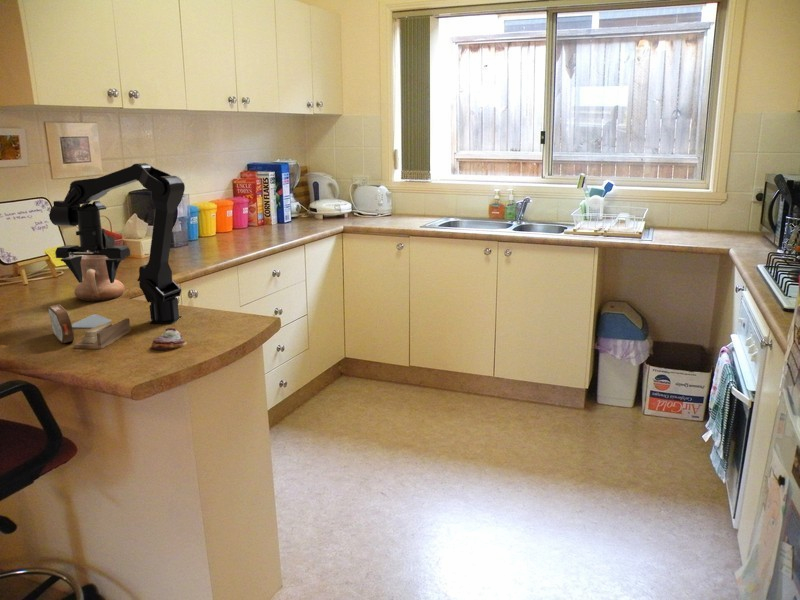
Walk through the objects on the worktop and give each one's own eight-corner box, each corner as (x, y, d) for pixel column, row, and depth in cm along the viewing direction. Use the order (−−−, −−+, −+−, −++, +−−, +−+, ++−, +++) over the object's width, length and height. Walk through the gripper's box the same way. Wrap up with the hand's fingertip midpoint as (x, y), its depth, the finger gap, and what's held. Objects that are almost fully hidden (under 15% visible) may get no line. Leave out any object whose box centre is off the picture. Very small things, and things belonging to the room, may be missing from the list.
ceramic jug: (85, 294, 216) (80, 251, 212) (131, 292, 218) (126, 250, 214) (66, 307, 198) (60, 261, 195) (116, 305, 200) (111, 259, 197)
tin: (76, 345, 161) (71, 311, 159) (62, 347, 160) (57, 314, 158) (63, 331, 173) (59, 300, 171) (50, 334, 171) (45, 302, 169)
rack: (130, 332, 171) (129, 318, 171) (101, 348, 158) (99, 333, 157) (105, 331, 172) (103, 317, 171) (74, 348, 159) (72, 333, 158)
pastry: (191, 343, 162) (189, 324, 161) (179, 353, 155) (177, 332, 153) (160, 343, 163) (158, 323, 161) (146, 352, 155) (144, 332, 154)
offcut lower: (115, 331, 170) (114, 326, 169) (93, 342, 160) (93, 338, 160) (104, 331, 170) (103, 326, 170) (82, 342, 160) (81, 337, 160)
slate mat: (133, 311, 193) (133, 309, 193) (98, 328, 175) (97, 327, 175) (104, 310, 194) (104, 309, 194) (66, 328, 176) (66, 326, 176)
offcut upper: (112, 327, 168) (111, 323, 168) (94, 336, 161) (94, 332, 160) (102, 327, 169) (102, 323, 168) (84, 336, 161) (84, 332, 161)
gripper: (137, 223, 185) (142, 277, 189) (74, 222, 187) (81, 276, 191) (116, 228, 175) (122, 285, 178) (50, 227, 176) (58, 284, 180)
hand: (96, 282), depth 182 cm, fingers open, 9 cm apart
